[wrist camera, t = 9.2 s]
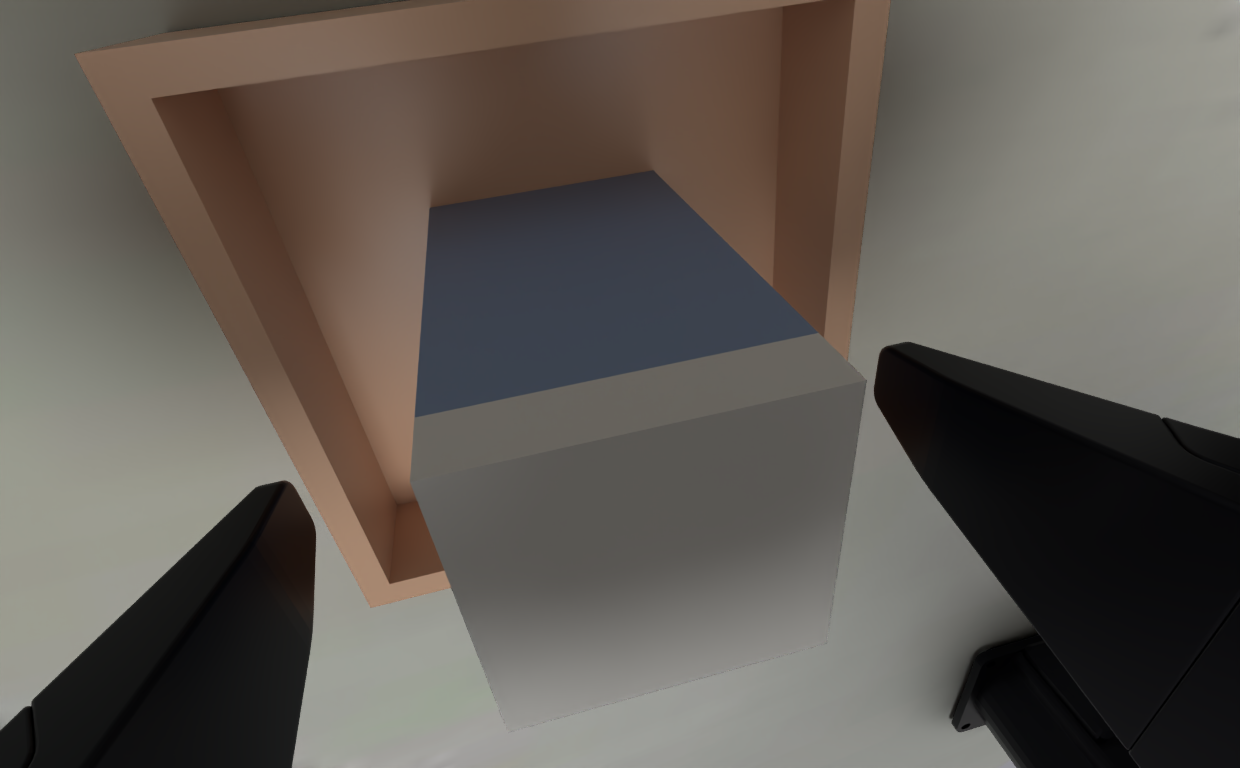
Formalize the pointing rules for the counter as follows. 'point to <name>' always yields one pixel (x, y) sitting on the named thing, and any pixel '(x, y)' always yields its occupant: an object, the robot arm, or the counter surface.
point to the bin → (473, 185)
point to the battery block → (623, 446)
